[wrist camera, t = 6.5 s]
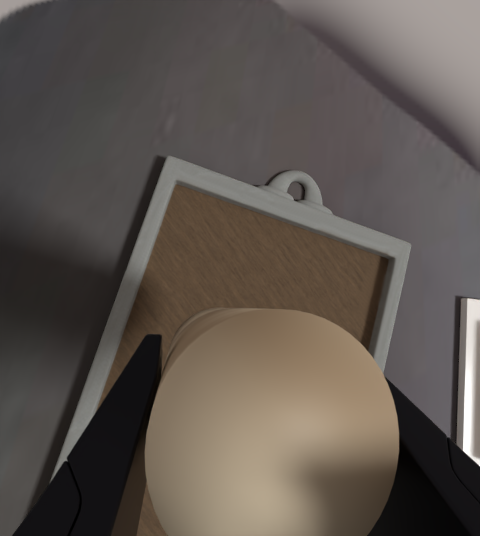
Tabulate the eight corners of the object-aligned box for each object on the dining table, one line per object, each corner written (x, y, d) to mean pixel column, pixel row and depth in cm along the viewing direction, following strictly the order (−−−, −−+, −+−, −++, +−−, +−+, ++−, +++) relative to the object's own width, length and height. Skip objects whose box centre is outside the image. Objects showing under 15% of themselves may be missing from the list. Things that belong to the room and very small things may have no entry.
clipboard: (7, 598, 18) (179, 118, 22) (21, 574, 19) (179, 130, 24) (323, 649, 20) (420, 210, 25) (313, 624, 22) (406, 216, 27)
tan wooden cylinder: (226, 427, 15) (308, 645, 5) (147, 368, 15) (82, 485, 5) (282, 346, 16) (440, 406, 6) (209, 288, 16) (255, 258, 6)
